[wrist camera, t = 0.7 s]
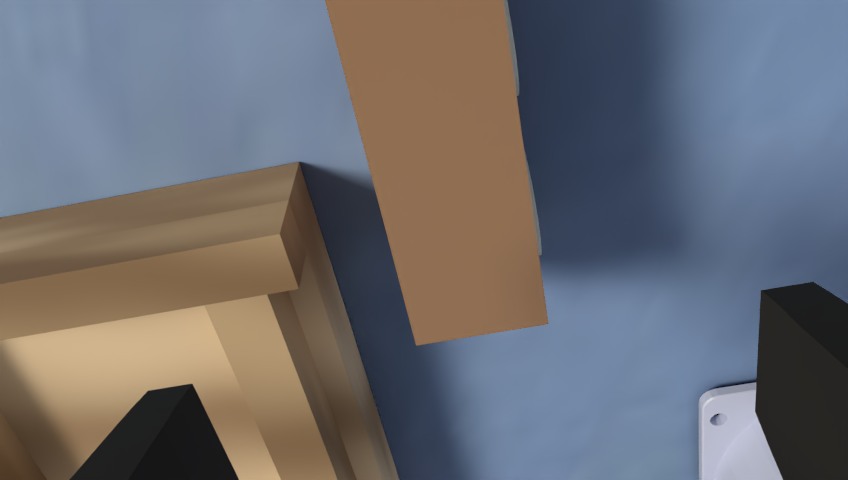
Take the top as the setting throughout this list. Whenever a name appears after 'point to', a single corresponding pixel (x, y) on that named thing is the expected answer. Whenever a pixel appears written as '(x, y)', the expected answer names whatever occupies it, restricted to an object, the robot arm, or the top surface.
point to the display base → (184, 329)
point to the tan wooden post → (446, 159)
